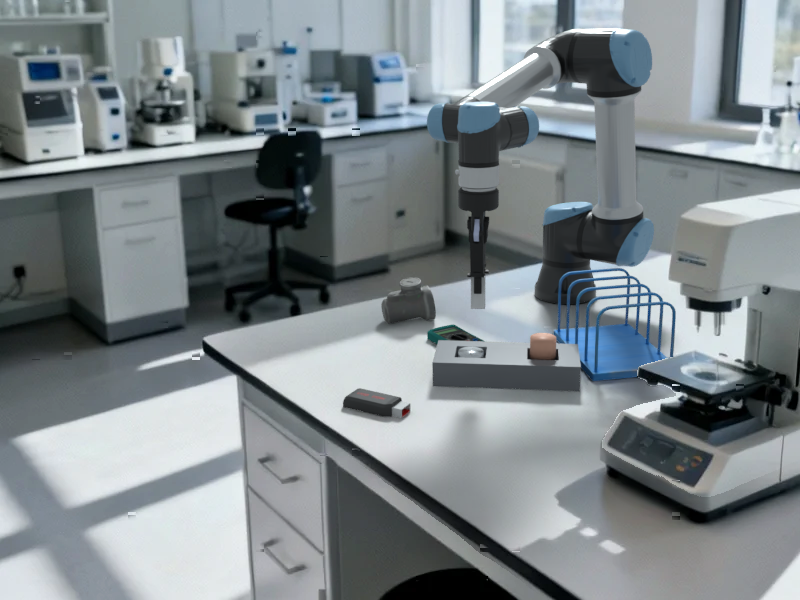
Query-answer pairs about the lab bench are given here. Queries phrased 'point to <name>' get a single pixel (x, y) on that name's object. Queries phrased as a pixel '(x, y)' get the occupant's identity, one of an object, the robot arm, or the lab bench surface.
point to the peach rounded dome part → (543, 346)
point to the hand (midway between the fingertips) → (478, 307)
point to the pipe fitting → (409, 302)
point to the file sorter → (612, 332)
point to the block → (506, 367)
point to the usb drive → (376, 403)
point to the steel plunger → (471, 352)
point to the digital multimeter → (450, 334)
